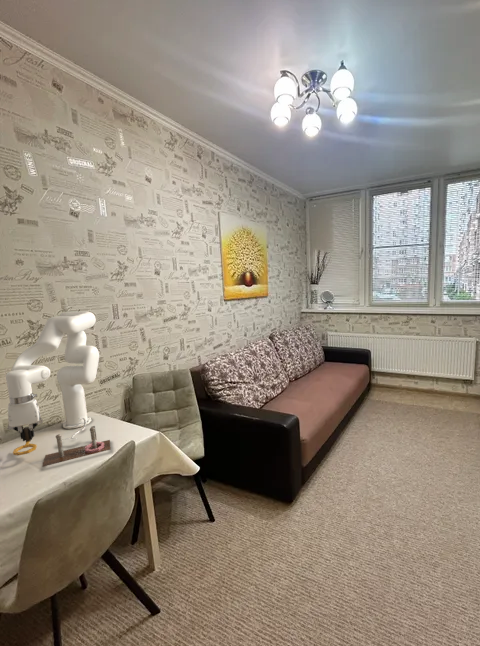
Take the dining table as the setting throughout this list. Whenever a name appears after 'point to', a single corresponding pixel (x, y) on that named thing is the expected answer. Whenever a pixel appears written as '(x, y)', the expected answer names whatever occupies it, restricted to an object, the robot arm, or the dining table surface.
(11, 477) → the dining table surface
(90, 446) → the pink ring
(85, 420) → the hook
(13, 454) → the brass ring
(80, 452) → the peg rack
